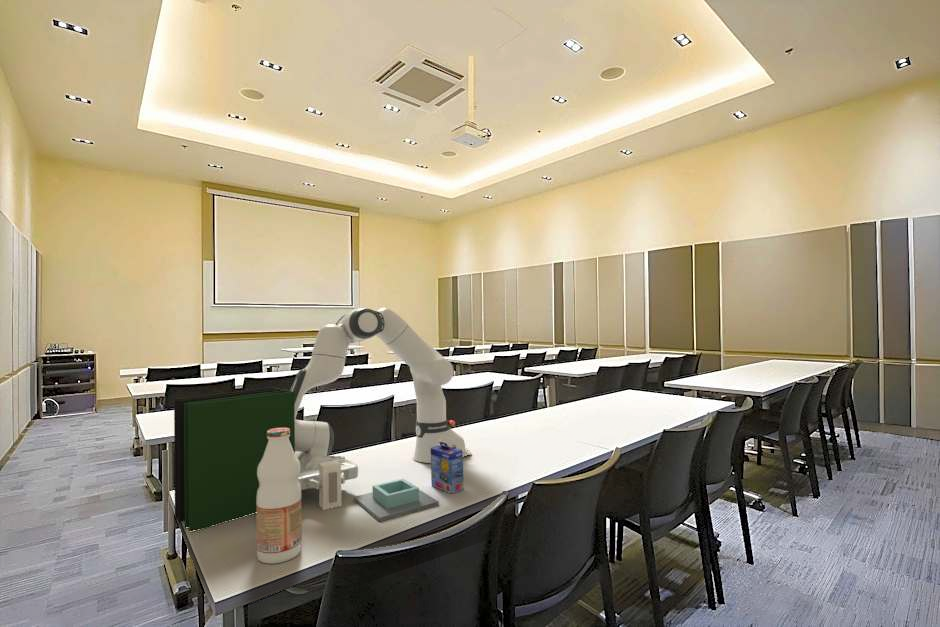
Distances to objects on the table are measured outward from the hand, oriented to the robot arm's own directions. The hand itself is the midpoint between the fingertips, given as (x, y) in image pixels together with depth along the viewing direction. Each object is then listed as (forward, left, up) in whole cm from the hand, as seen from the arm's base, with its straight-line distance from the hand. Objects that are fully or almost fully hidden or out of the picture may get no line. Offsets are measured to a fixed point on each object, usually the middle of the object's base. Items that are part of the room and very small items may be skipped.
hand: (331, 483), depth 130 cm
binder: (+22, -15, -7) cm, 28 cm away
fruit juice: (+18, +19, -7) cm, 27 cm away
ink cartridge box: (-34, +7, -7) cm, 35 cm away
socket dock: (-16, +8, -7) cm, 19 cm away
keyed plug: (0, -1, -7) cm, 7 cm away
